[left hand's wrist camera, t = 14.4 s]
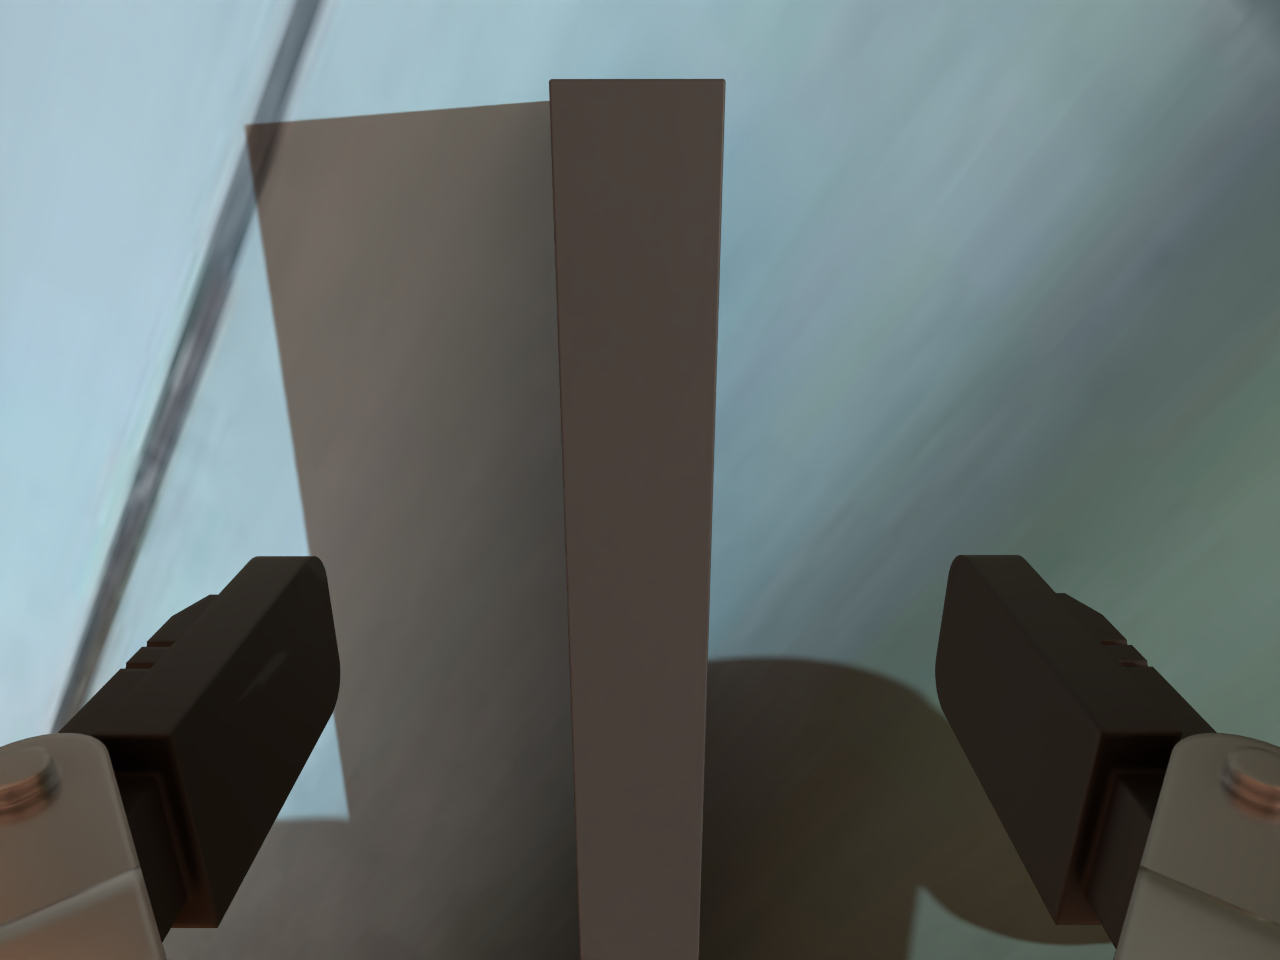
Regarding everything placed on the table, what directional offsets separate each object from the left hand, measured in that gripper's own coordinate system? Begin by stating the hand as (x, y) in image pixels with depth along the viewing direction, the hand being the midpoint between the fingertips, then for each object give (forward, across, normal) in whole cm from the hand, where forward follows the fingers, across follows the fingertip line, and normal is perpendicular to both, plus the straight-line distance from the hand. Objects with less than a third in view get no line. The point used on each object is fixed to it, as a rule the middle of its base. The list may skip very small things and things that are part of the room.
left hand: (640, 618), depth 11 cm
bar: (+22, 0, -24) cm, 32 cm away
